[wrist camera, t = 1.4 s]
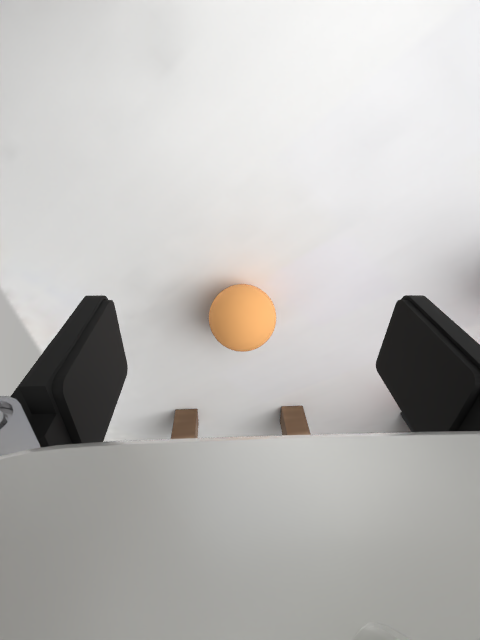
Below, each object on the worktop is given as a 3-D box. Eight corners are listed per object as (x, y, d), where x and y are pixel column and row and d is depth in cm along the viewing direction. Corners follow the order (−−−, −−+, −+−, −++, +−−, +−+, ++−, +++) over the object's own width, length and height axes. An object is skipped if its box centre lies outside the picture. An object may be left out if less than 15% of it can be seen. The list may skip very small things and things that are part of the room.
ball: (208, 273, 29) (205, 305, 24) (273, 272, 30) (283, 304, 24) (211, 328, 32) (209, 366, 27) (269, 326, 33) (278, 364, 28)
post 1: (175, 409, 38) (165, 471, 32) (197, 408, 38) (191, 470, 32) (177, 424, 40) (168, 486, 33) (198, 423, 40) (193, 485, 33)
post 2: (281, 406, 39) (293, 466, 32) (302, 405, 39) (319, 465, 32) (279, 420, 40) (291, 481, 34) (300, 420, 40) (315, 480, 34)
